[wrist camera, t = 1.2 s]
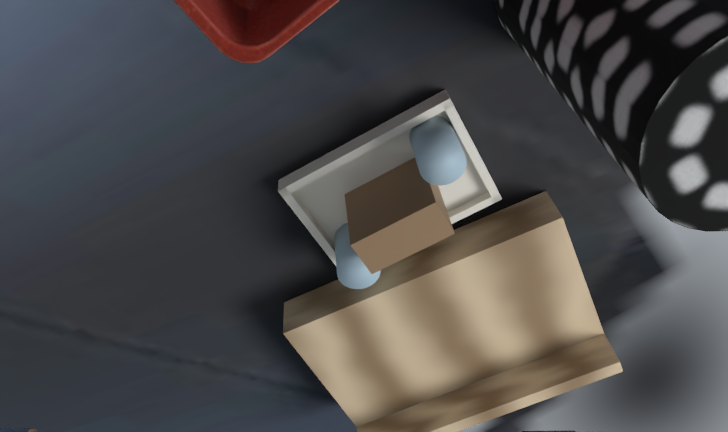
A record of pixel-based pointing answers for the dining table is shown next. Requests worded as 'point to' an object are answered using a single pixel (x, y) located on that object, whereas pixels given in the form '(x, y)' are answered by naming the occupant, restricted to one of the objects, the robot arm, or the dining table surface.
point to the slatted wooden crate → (458, 327)
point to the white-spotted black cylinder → (642, 90)
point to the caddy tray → (374, 160)
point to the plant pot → (252, 23)
